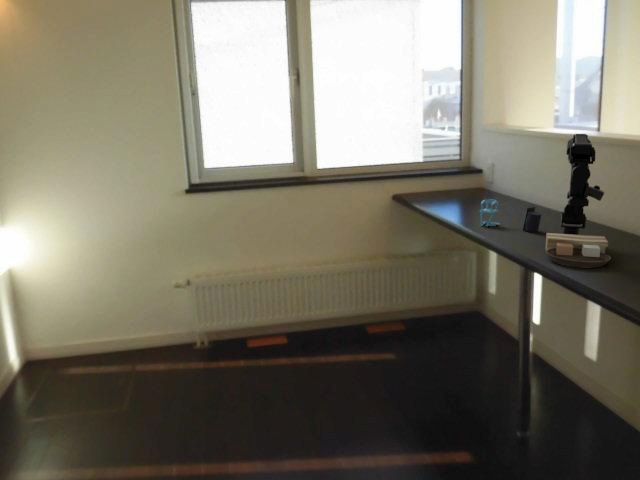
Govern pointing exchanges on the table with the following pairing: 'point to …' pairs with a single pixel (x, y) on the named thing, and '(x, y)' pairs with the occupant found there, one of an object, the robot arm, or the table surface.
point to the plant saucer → (578, 259)
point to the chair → (489, 212)
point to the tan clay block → (564, 249)
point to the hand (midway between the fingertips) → (575, 221)
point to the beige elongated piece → (575, 241)
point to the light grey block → (591, 250)
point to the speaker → (532, 220)
